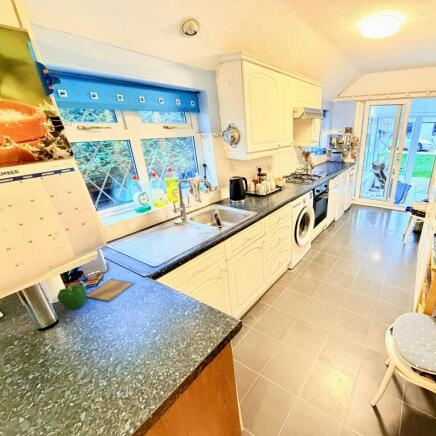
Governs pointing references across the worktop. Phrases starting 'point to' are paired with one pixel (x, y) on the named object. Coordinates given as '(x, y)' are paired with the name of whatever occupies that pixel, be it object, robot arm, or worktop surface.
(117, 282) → the coaster
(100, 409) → the worktop surface
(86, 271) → the white product box
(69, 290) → the bell pepper
